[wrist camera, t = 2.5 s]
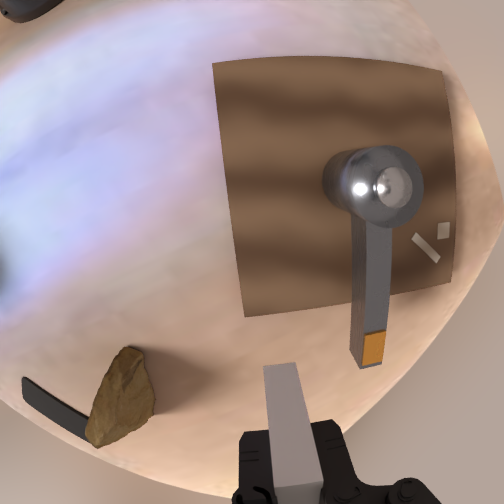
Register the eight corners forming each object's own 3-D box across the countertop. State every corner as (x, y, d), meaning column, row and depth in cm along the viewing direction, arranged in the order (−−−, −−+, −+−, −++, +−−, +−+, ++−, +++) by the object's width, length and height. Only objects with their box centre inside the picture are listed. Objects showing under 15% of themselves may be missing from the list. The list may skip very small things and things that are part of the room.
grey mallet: (318, 151, 22) (353, 144, 14) (375, 149, 21) (426, 145, 14) (327, 340, 26) (351, 392, 19) (375, 331, 26) (409, 377, 19)
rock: (99, 333, 26) (69, 388, 26) (124, 402, 20) (88, 450, 21) (175, 351, 34) (139, 397, 34) (209, 405, 28) (165, 448, 29)
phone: (21, 375, 30) (101, 427, 32) (23, 372, 31) (103, 423, 33) (22, 399, 32) (95, 446, 34) (24, 397, 33) (97, 443, 35)
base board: (214, 70, 22) (212, 62, 20) (431, 75, 21) (442, 70, 19) (244, 307, 28) (244, 317, 26) (440, 275, 27) (451, 282, 25)
